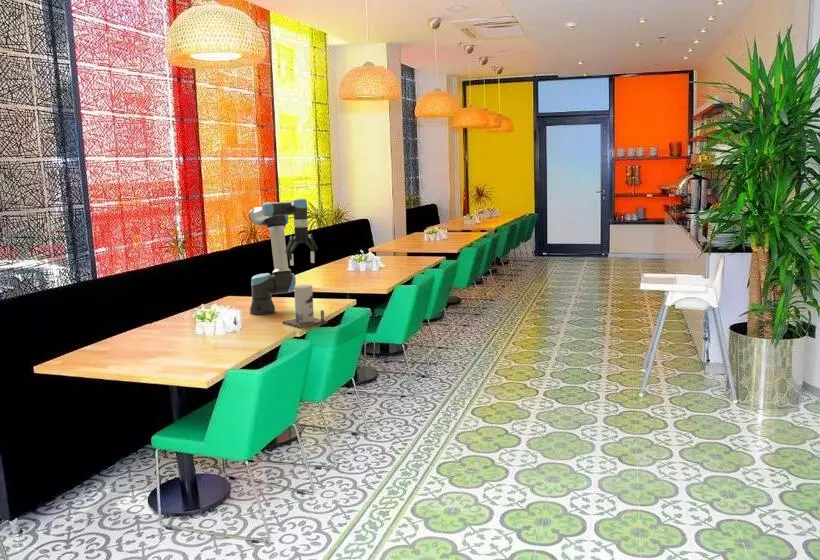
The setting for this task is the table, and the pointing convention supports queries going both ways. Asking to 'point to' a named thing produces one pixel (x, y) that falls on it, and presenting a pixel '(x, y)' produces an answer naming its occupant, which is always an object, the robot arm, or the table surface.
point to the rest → (306, 324)
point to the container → (304, 302)
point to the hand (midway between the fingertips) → (302, 264)
